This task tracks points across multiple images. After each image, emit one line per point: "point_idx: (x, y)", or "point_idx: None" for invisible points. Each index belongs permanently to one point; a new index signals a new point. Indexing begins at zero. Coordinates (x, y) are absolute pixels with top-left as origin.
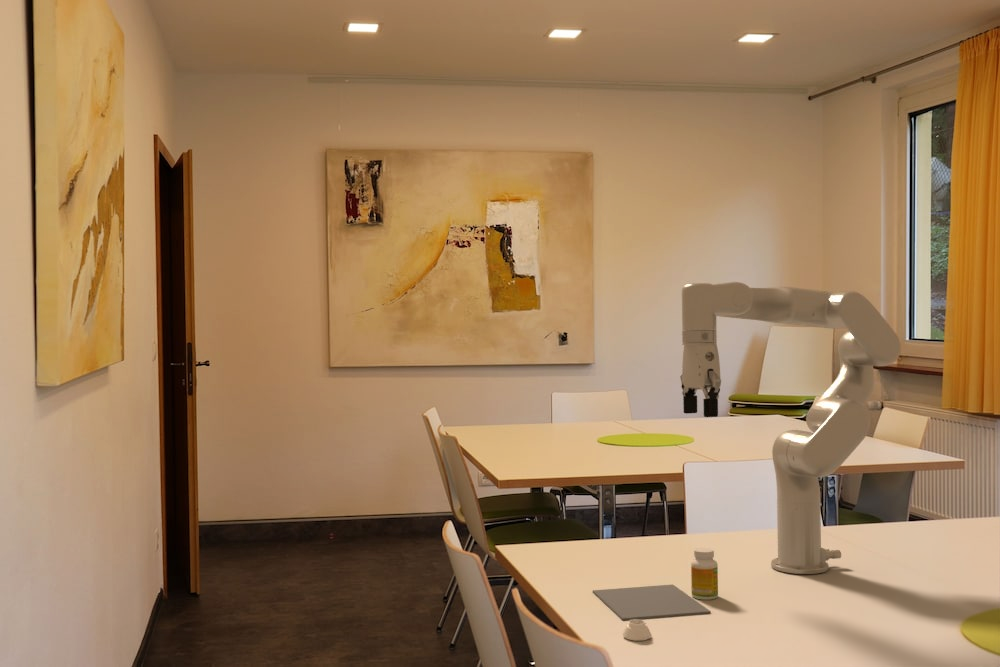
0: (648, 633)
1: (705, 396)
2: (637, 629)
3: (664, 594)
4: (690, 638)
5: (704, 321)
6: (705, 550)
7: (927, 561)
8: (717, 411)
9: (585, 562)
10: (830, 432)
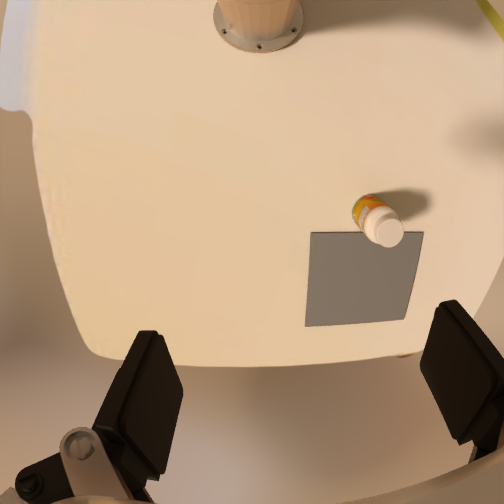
0: None
1: (478, 448)
2: None
3: (350, 258)
4: (463, 276)
5: None
6: (394, 232)
7: None
8: (467, 317)
9: (164, 300)
10: None
